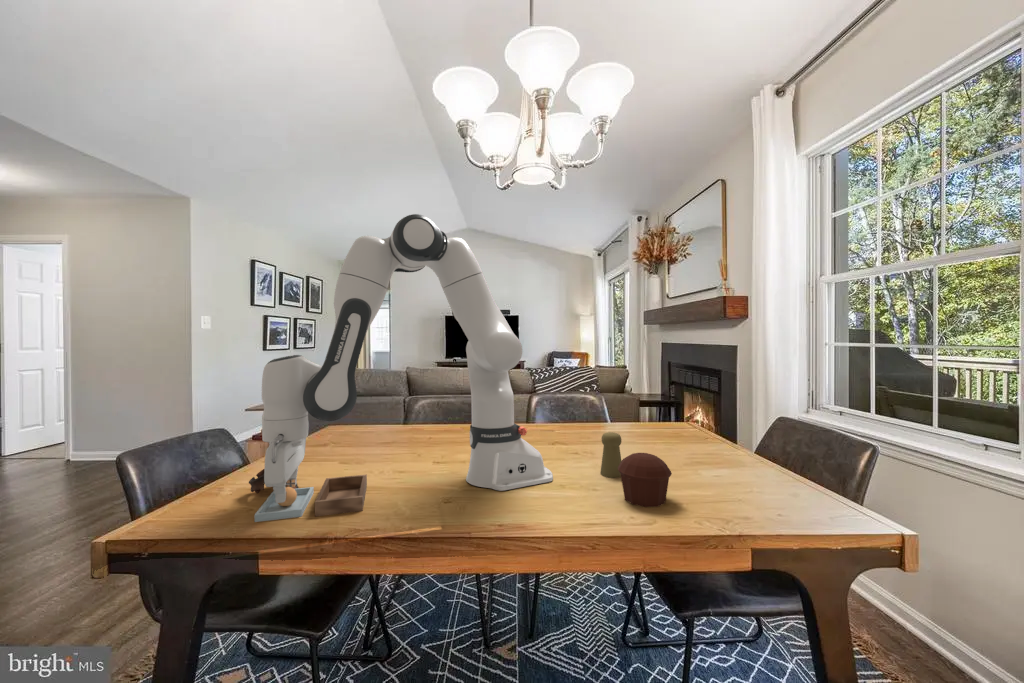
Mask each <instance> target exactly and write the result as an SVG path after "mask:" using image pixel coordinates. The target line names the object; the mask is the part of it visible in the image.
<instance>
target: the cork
mask: <svg viewBox="0 0 1024 683" xmlns="http://www.w3.org/2000/svg"><path fill="white" fill-rule="evenodd" d="M621 436H622V435H620V434H619V433H616V432H611V431H609V432H604V433H603V434H602V435H601V443H602V445H603V449H602V456H601V466H600V475H601V476H602V477H604V478H610V479H619V478H621V474H620V472H619V471H618V466H619V464H620V463H621V461H622V456H621V455H622V454H621V448H620V446H621V444H622V437H621Z"/></svg>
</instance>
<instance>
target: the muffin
mask: <svg viewBox="0 0 1024 683" xmlns="http://www.w3.org/2000/svg"><path fill="white" fill-rule="evenodd" d="M618 471H619V472H620V474H621V477H620V478H621V484H622V490H623V496H624V497H623V498H624V501H626V502H628V503H630V504H631V505H634V506H639V507H644V508H651V507H652V508H659V507H661V506H662V505H665V504H666V500H667V494H668V489H669V480H670V477H671V476H672V470H671V469H670V468H669V466H668V465H667V464H666V461H664V460H663V459H661V458H660V457H658V456H657V455H655V454H651V453H647V452H636V453H635V452H633V453H631V454H630V455H627V456H626V457H624V458H623V459H621V463H620V464H619V466H618Z"/></svg>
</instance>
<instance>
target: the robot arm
mask: <svg viewBox="0 0 1024 683" xmlns="http://www.w3.org/2000/svg"><path fill="white" fill-rule="evenodd" d="M390 234H391V235H390V236H389V237H387V238H380V237H378V236H374V235H363V236H360V237H358V238H356V239H355V240H354V241H353V243H352V245H351V247H350V249H349V250H348V252H347V254H346V256H345V258H344V261H343V264H342V266H341V269H340V272H339V273H338V277H337V281H336V285H335V289H334V296H333V307H334V308H333V309H334V316H335V322H334V323H335V324H334V329H333V333H332V335H331V339H330V342H329V346H328V350H327V352H326V356H325V357H324V358H325V359H324V362H323V364H322V365H321V364H318V363H316V362H313V361H311V360H309V359H307V358H306V357H304V356H303V355H300V354H293V355H288V356H282V357H278V358H273V359H272V360H270V361H268V362H267V363H266V364H265V365H264V367H263V371H262V376H261V377H262V378H261V400H262V403H263V413H262V416H261V422H262V423H261V434H262V435H261V436H262V441H263V442H264V443H268V444H269V445H268V447H267V448H266V450H265V456H264V468H263V469H264V482H265V485H264V486H266V487H267V488H271V487H272V489H273V491H274V493H275V500H276V503H283V502H285V500H286V498H287V491H286V487H294V486H295V485H296V484H297V485H298V483H297V481H298V480H297V477H298V472H299V466H300V465H301V463H302V462H303V460H304V458H305V453H306V443H307V437H308V436H309V429H310V428H309V427H310V423H309V415H310V416H312V417H313V418H314V419H316V420H320V421H323V422H333V421H335V422H336V421H338V420H341V419H343V418H345V417H346V416H347V415H348V414H350V413H351V411H352V410H353V408H354V407H355V405H356V402H357V398H358V392H357V384H356V377H355V375H356V370H357V366H358V362H359V358H360V355H361V352H362V348H363V344H364V341H365V338H366V335H367V332H368V331H369V329H370V326H371V325H372V323H373V321H374V320H375V318H376V316H377V314H378V313H379V311H380V308H381V307H382V305H383V302H384V300H385V297H386V294H387V291H388V288H389V285H390V280H391V278H392V276H393V274H394V272H395V273H415V272H420V271H421V270H423V269H424V268H425V267H427V268H429V269H431V271H433V272H434V273H435V275H436V277H437V278H438V281H439V283H440V286H441V288H442V291H443V293H444V295H445V297H446V298H445V299H446V300H447V303H448V305H449V307H450V310H451V312H452V314H453V317H454V319H455V320H456V321H457V322H458V324H459V326H460V327H461V329H462V332H463V333H464V335H465V336H466V338H467V340H468V341H467V343H466V346H465V352H466V359H467V360H466V361H467V371H468V372H467V373H468V381H469V387H470V395H471V396H470V398H471V424H470V425H469V426H470V428H469V445H470V459H469V465H468V471H467V473H466V477H465V481H466V482H467V483H469V484H470V485H472V486H475V487H479V488H480V487H481V488H488V489H492V490H495V491H500V492H502V491H508V490H513V489H518V488H523V487H529V486H535V485H538V484H539V485H540V484H544V483H550V482H552V481H553V479H554V476H553V472H552V471H551V470H550V469H549V468H547V467H546V466H545V465H544V459H543V455H542V454H541V452H540V451H539V450H538V449H536V448H535V447H534V446H533V445H532V444H530V443H529V442H527V441H526V440H525V439H523V438H522V436H523V437H524V436H526V435H527V433H528V430H527V428H526V427H524V426H520V425H518V424H516V423H515V396H514V392H513V388H512V384H511V381H510V374H509V370H511V369H514V368H515V367H516V366H517V365H518V364H519V362H520V361H521V358H522V355H523V346H522V343H521V341H520V339H519V338H518V336H517V335H516V334H515V333H514V331H513V330H512V328H511V326H510V325H509V323H508V321H507V320H506V318H505V316H504V313H502V310H501V309H500V307H499V306H498V305H497V303H496V300H495V298H494V297H493V293H492V291H491V289H490V287H489V284H488V282H487V280H486V278H485V275H484V273H483V270H482V268H481V265H480V264H479V261H478V259H477V258H476V255H475V254H474V252H473V251H472V249H471V247H470V246H469V245H468V243H467V242H466V241H465V239H463V238H461V237H455V236H454V237H448V236H447V234H446V233H445V232H444V231H443V230H442V229H440V228H439V226H437V224H436V223H435V222H434V221H432V219H431V218H429V217H427V216H425V215H422V214H419V213H413V214H409V215H405V216H403V217H402V218H401V219H399V221H397V223H396V224H395V226H394V227H393V230H392V232H391V233H390ZM286 482H287V484H286Z"/></svg>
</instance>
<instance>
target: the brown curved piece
mask: <svg viewBox="0 0 1024 683" xmlns="http://www.w3.org/2000/svg"><path fill="white" fill-rule="evenodd" d="M256 477H257V478H255V476H253V477H252V478H250V480H249V481H248V484H249V485H250V492H251V493H256V494H259V493H260V492H261V491H264V490H265V486H266V485H265V482H264V468H263V469H262V470H260V471H259V472H257V473H256ZM286 485H287V482H286ZM292 488H293V489H297V488H299V486H298V483H297V484H296V485H295V486H294V487H292Z"/></svg>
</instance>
